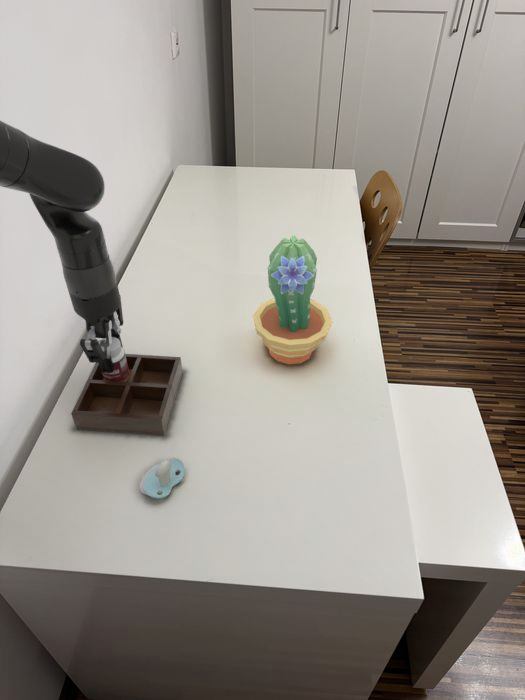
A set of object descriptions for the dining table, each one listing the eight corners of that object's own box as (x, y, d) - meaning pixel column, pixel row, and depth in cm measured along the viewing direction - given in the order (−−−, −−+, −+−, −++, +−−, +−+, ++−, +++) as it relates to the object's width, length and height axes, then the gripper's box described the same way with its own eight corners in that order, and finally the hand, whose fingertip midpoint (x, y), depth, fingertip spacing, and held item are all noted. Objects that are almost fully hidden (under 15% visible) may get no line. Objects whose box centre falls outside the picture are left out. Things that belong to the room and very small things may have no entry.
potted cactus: (237, 353, 101) (233, 244, 84) (281, 316, 110) (286, 210, 93) (300, 387, 94) (310, 275, 77) (342, 344, 103) (359, 236, 86)
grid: (164, 435, 85) (161, 420, 82) (76, 429, 86) (70, 413, 83) (182, 372, 97) (180, 357, 94) (105, 367, 98) (100, 352, 95)
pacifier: (131, 491, 77) (160, 509, 75) (122, 467, 73) (154, 485, 71) (162, 458, 82) (191, 474, 79) (156, 433, 78) (186, 449, 75)
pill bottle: (100, 385, 92) (89, 351, 86) (110, 367, 95) (101, 333, 90) (124, 388, 91) (116, 354, 85) (134, 370, 95) (126, 336, 89)
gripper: (84, 257, 84) (104, 334, 96) (50, 308, 74) (78, 388, 85) (127, 259, 84) (143, 336, 95) (100, 311, 73) (121, 391, 85)
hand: (112, 360), depth 90 cm, fingers closed on pill bottle, 4 cm apart
